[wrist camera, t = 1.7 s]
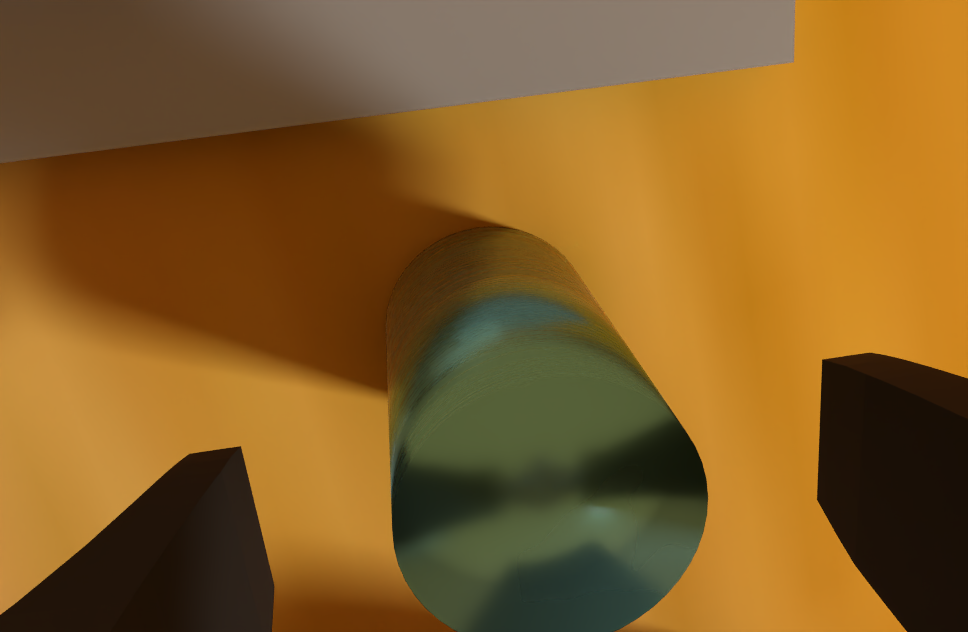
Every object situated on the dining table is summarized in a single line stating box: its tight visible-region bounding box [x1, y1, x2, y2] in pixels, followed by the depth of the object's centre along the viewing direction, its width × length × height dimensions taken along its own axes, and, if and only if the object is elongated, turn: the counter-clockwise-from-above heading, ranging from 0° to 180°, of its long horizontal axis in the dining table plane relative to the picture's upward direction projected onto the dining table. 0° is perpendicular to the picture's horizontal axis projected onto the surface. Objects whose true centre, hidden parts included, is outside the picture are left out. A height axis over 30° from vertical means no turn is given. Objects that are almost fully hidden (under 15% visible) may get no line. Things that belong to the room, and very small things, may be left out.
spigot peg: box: [386, 227, 708, 632], centre depth 13 cm, size 4×4×6 cm
